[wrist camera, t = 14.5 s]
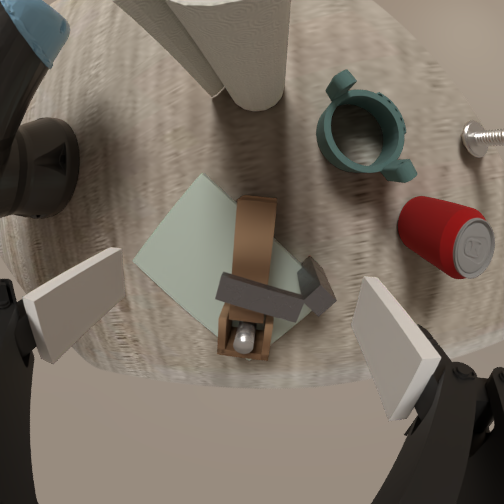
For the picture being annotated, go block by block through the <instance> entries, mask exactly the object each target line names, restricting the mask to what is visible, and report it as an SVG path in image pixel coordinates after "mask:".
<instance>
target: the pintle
mask: <svg viewBox="0 0 504 504" xmlns="http://www.w3.org/2000/svg"><path fill="white" fill-rule="evenodd" d="M256 325H257V323H254V322H246V321H239V324H238V328H237V332H236V335H235V339H234V343H233V347H234V349H235V350H236V351H237V352H238V353H241V354H247V353H250V352H251V351H252V350H253V345H254V338H255V332H256Z"/></svg>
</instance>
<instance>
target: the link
mask: <svg viewBox="0 0 504 504" xmlns="http://www.w3.org/2000/svg"><path fill="white" fill-rule="evenodd" d="M276 209H277V198H269V197H260V196H249V195H243V196H242V197H240V198H239V199H237V209H236V222H235V235H234V248H233V262H232V274H233V275H236V276H240V277H243V278H246V279H250V280H253V281H256V282H260V283H263V284H266V285H268V280H269V271H270V263H271V254H272V245H273V236H274V227H275V218H276ZM232 320H238V321H246V322H254V323H262V324H263V320H264V314H262V313H259V312H255V311H252V310H248V309H245V308H242V307H238V306H235V305H232V304H228V303H224V306H223V308H222V311H221V313H220V316H219V321H218V349H217V354H219V355H226V356H233V357H240V358H248V359H257V360H266V361H268V356H269V350H270V344H271V337H272V330H273V321H274V317H273V316H269V315H266V316H265V324H264V330H257V329H256V332H255V338H254V345H253V350H252V351H251V352H250V353H247V354H241V353H238V352H237V351H236V350H235V349H234V347H233V343H234V339H235V335H236V332H237V328H238V327H233V326H232Z"/></svg>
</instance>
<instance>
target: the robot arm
mask: <svg viewBox="0 0 504 504" xmlns="http://www.w3.org/2000/svg"><path fill="white" fill-rule="evenodd" d="M69 34H70V26H69V24H68V22H67V21H66V19H65V18H64V17H63V16H61V15H60V14H59V13H58V12H57V11H55V10H54V9H53V8H52V7H50V6H49V5H48V4H46V3H45V2H44V1H42V0H0V218H2V217H5V216H8V215H17V216H23V217H31V218H35V219H42V218H46V217H50V216H53V215H56V214H57V213H59V212H60V211H61V210H62V209H63V208H64V207H65V206H66V205H67V203H68V202H69V200H70V198H71V196H72V194H73V192H74V189H75V186H76V182H77V178H78V172H79V149H78V144H77V140H76V137H75V134H74V132H73V130H72V129H71V127H70V126H69V125H68V124H67V123H66V122H65V121H63V120H61V119H57V118H49V117H45V118H40V119H37V120H35V121H32V122H29V123H26V124H23V125H20V124H21V121H22V119H23V117H24V115H25V112H26V110H27V108H28V106H29V104H30V102H31V100H32V98H33V96H34V94H35V92H36V90H37V89H38V87H39V85H40V83H41V81H42V80H43V78H44V76H45V75H46V73H47V71H48V70H49V69H51V68H52V66H53V62H54V60H55V58H56V57H57V55H58V53H59V52H60V50H61V49H62V47H63V45H64V44H65V42H66V41H67V39H68V37H69ZM124 297H125V286H124V274H123V259H122V249H121V248H113V247H110V248H108V249H106V250H104V251H102V252H100V253H98V254H96V255H94V256H93V257H91V258H89V259H87V260H85V261H83V262H81V263H80V264H78V265H76V266H74V267H72V268H71V269H69V270H67V271H65V272H63V273H62V274H60V275H58V276H56V277H55V278H53V279H51V280H50V281H48V282H46V283H45V284H43V285H41V286H39V287H38V288H36V289H34V290H33V291H31V292H30V293H28V294H26V295H25V296H23V297H22V300H20V301H18V302H17V301H16V297H15V293H14V289H13V284H12V281H11V280H9V279H0V504H38V502H37V499H36V494H35V488H34V481H33V473H32V463H31V449H30V399H31V385H32V374H33V365H34V355H33V352H32V350H33V349H34V348H35V347H36V346H37V349H38V352H39V354H40V357H41V359H43V360H45V361H47V362H49V363H51V364H54V363H55V362H56V361H57V360H58V359H59V358H60V357H61V356H62V355H63V354H64V353H65V352H66V351H67V350H68V349H69V348H70V347H71V346H72V345H73V344H74V343H76V342H77V341H78V340H79V339H80V338H81V337H82V336H83V335H84V334H85V333H86V332H87V331H88V330H89V329H90V328H91V327H92V326H93V325H94V324H96V323H97V322H98V321H99V320H100V319H101V318H102V317H103V316H104V315H105V314H106V313H107V312H108V311H110V310H111V309H112V308H113V307H114V306H115V305H116V304H117V303H118V302H119V301H121V300H122V299H123V298H124ZM351 326H352V329H353V331H354V333H355V336H356V338H357V340H358V343H359V345H360V348H361V350H362V352H363V355H364V357H365V360H366V362H367V365H368V367H369V370H370V372H371V375H372V377H373V380H374V383H375V385H376V388H377V390H378V393H379V395H380V399H381V401H382V404H383V407H384V409H385V412H386V415H387V418H388V420H389V421H392V420H401V419H407V417H408V416H409V415H410V413H411V411H412V410H413V408H414V407H415V409H416V411H417V413H418V416H417V417H416V418H415V420H414V421H413V423H412V424H411V426H410V427H409V428H408V430H407V431H406V433H405V434H404V435H406V436H407V438H406V440H405V442H404V445H403V447H402V449H401V451H400V453H399V455H398V457H397V459H396V461H395V463H394V465H393V467H392V469H391V471H390V473H389V475H388V476H387V478H386V480H385V482H384V483H383V485H382V487H381V489H380V490H379V492H378V494H377V495H376V497H375V498H374V500H373V502H372V503H371V504H504V368H502V367H497V368H495V369H494V370H493V371H492V373H491V375H490V377H489V378H488V379H486V378H477V375H476V373H475V371H474V370H473V369H472V368H471V367H469V366H468V365H466V364H464V363H460V362H451V360H450V359H449V357H448V356H447V355H446V353H445V352H444V351H443V349H442V348H441V347H440V346H439V345H438V343H437V342H436V340H435V339H433V337H432V335H431V334H430V333H429V332H428V331H427V330H426V329H425V328H423V327H422V326H420V325H419V324H416V323H415V322H414V321H413V320H412V318H411V317H410V316H409V315H408V313H407V312H406V311H405V310H404V309H403V307H402V306H401V305H400V304H399V302H398V301H397V300H396V299H395V298H394V296H393V295H392V294H391V293H390V292H389V291H388V289H387V288H386V287H385V286H384V285H383V284H382V282H381V281H380V280H379V279H378V278H377V277H366V276H363V280H362V285H361V289H360V293H359V297H358V301H357V305H356V309H355V312H354V316H353V320H352V323H351ZM493 421H494V424H495V425H494V429H493V430H492V431H491V432H490V431H489V426H490V425H491V423H492V422H493ZM407 434H408V435H407Z"/></svg>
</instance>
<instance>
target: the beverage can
mask: <svg viewBox="0 0 504 504" xmlns="http://www.w3.org/2000/svg"><path fill="white" fill-rule="evenodd" d="M398 231H399V235H400V238H401V240H402V242H403V243H404V244H405V245H406V246H407V247H408V248H409V249H411V250H412V251H414V252H415V253H417V254H418V255H420V256H421V257H422V258H424V259H425V260H427V261H428V262H430V263H431V264H433V265H434V266H436V267H437V268H438V269H440V270H441V271H443V272H444V273H446V274H447V275H449V276H450V277H452V278H455V279H465V278H470V279H471V278H475V277H478V276H479V275H481V274H482V273H483V272H484V271H485V270H486V268H487V267H488V265H489V264H490V262H491V259H492V257H493V253H494V248H495V237H494V232H493V229H492V227H491V226H490V224H489V223H488V222H487V221H486V220H485V218H484V216H483V215H482V214H481V213H480V212H479V211H478V210H476V209H474V208H470V207H467V206H463V205H460V204H456V203H452V202H448V201H444V200H439V199H435V198H430V197H425V196H418V197H415V198H413V199H411V200H410V201H408V202H407V203H406V204H405V206H404V207H403V209H402V210H401V213H400V216H399V220H398Z"/></svg>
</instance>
